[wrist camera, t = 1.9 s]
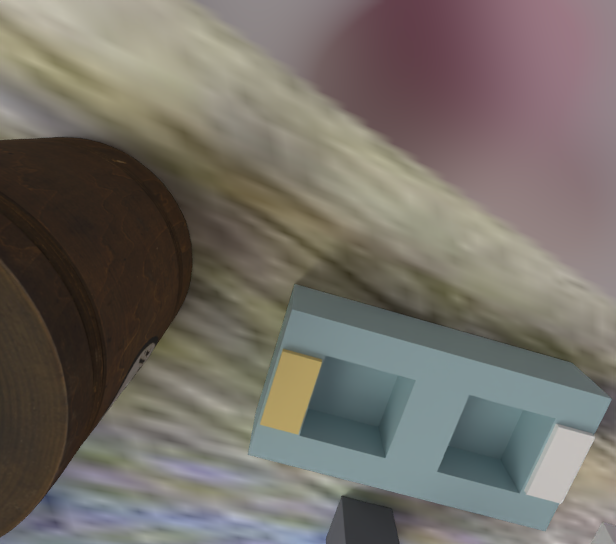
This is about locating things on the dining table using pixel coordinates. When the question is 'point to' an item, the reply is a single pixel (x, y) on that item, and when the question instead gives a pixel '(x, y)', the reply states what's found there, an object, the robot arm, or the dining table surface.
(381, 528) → the plug
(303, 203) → the dining table surface
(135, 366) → the wooden container
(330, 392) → the socket block
